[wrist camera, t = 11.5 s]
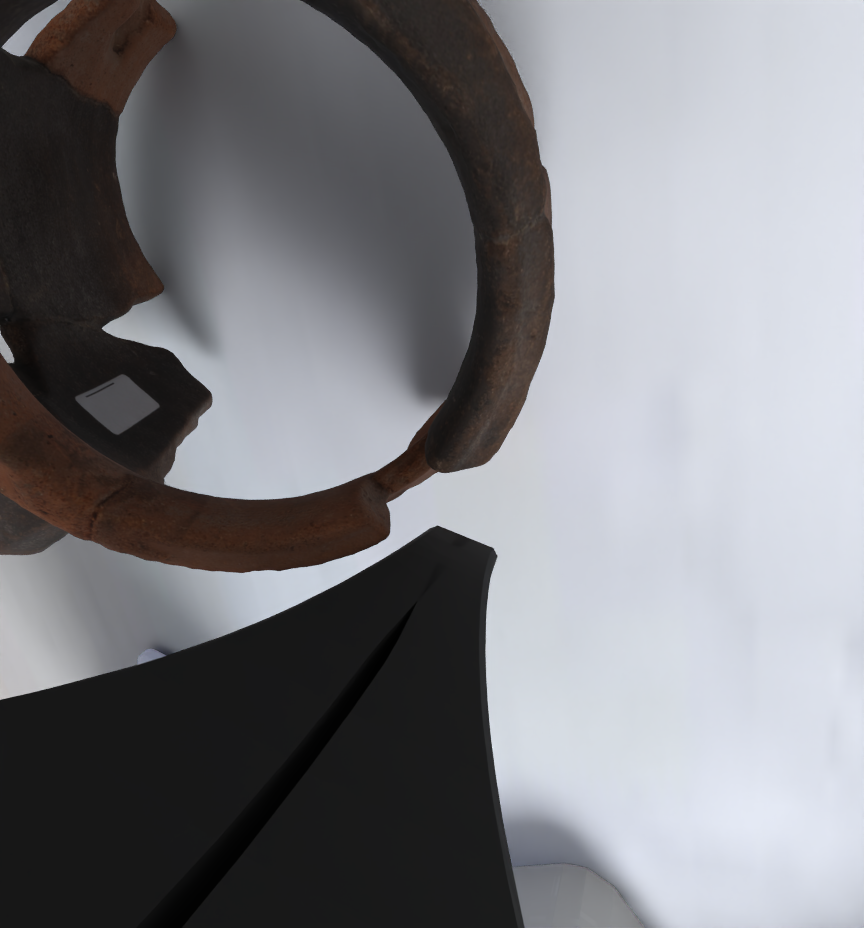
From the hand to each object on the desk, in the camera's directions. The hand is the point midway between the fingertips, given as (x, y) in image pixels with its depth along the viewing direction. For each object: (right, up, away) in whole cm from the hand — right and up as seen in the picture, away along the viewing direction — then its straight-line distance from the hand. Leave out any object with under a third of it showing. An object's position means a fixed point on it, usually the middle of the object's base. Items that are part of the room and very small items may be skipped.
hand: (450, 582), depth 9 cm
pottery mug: (-3, +6, +3) cm, 7 cm away
